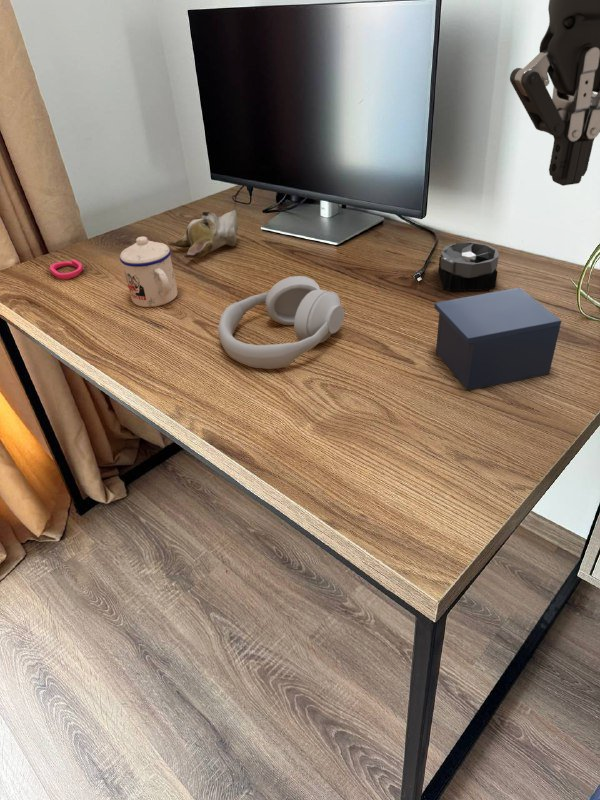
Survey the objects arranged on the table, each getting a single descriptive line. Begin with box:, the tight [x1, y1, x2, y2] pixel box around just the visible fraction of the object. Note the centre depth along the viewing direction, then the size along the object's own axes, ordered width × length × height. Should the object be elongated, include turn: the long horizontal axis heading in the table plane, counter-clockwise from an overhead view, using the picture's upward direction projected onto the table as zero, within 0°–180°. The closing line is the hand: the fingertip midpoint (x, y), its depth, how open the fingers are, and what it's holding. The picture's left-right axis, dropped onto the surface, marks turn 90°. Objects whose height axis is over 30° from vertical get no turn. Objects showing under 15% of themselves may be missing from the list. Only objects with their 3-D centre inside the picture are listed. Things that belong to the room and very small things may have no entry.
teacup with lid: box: [119, 236, 178, 308], centre depth 107 cm, size 12×9×12 cm
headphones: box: [217, 275, 345, 370], centre depth 94 cm, size 18×8×20 cm
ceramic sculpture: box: [167, 209, 239, 259], centre depth 125 cm, size 11×9×15 cm
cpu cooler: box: [438, 241, 499, 292], centre depth 107 cm, size 10×6×10 cm
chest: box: [435, 312, 561, 391], centre depth 84 cm, size 13×11×8 cm
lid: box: [433, 287, 562, 344], centre depth 82 cm, size 14×11×1 cm
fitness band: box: [49, 258, 85, 281], centre depth 123 cm, size 8×6×2 cm
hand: (565, 182), depth 52 cm, fingers closed
